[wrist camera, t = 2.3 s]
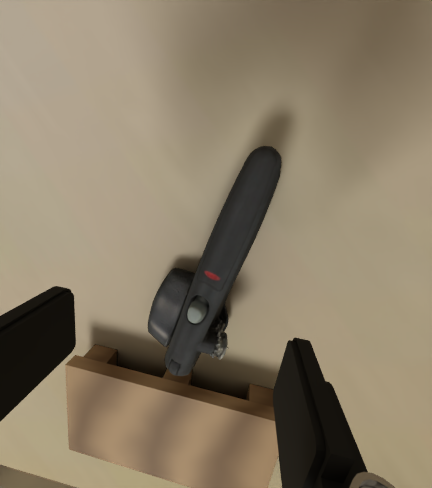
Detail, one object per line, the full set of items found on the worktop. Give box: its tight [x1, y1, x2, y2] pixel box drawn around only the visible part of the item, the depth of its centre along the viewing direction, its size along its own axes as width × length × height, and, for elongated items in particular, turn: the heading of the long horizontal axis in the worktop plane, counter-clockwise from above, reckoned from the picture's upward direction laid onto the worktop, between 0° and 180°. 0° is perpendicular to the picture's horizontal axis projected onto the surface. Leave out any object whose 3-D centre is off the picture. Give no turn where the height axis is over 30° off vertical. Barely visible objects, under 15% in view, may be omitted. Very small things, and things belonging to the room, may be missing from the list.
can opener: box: [148, 146, 281, 376], centre depth 16 cm, size 18×7×6 cm, turn 155°
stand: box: [65, 344, 279, 488], centre depth 22 cm, size 20×11×3 cm, turn 81°
